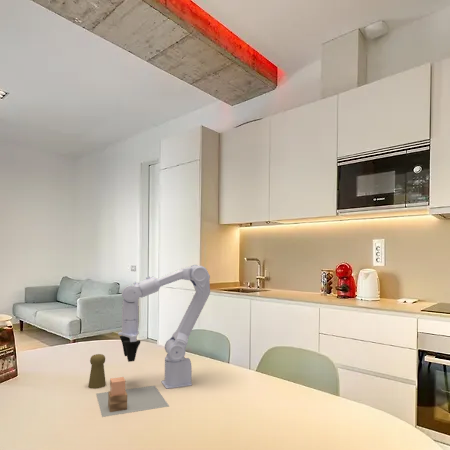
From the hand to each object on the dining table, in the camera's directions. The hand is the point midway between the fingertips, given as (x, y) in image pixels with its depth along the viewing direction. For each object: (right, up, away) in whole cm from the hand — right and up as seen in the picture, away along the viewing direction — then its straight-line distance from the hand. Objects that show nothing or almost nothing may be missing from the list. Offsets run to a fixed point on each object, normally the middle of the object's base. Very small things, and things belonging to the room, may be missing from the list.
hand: (129, 358), depth 135 cm
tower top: (+1, -7, -18) cm, 19 cm away
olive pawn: (-12, -11, +2) cm, 16 cm away
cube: (+1, -5, -17) cm, 18 cm away
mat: (+3, -10, -11) cm, 15 cm away
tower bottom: (+1, -9, -18) cm, 20 cm away
